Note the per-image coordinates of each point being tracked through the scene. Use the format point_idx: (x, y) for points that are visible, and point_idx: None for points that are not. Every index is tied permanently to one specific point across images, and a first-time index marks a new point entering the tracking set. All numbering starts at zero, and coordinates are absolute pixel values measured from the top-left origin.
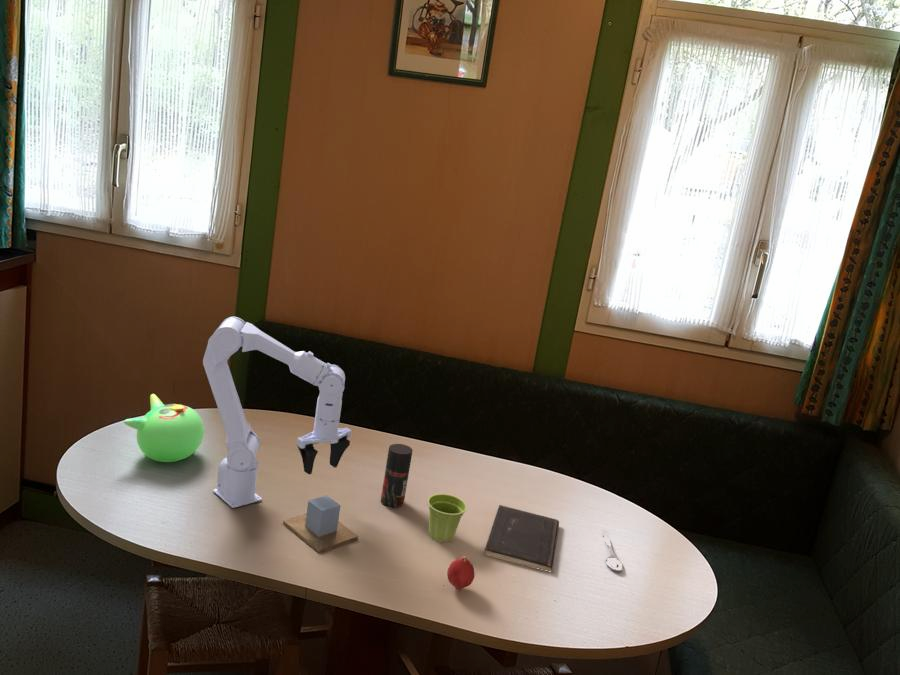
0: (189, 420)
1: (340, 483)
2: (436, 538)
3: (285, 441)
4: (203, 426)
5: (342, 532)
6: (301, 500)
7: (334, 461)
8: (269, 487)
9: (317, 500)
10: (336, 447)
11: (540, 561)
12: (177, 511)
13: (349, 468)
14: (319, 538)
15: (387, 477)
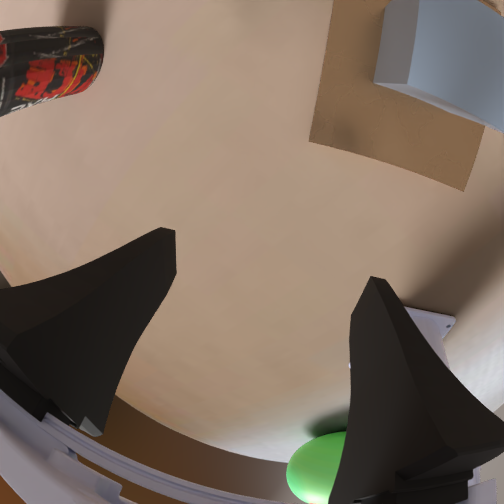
0: None
1: (131, 223)
2: None
3: (152, 378)
4: (302, 473)
5: None
6: (303, 234)
7: (156, 264)
8: (313, 327)
9: (483, 97)
10: (93, 349)
11: None
12: (493, 355)
13: (82, 256)
14: None
15: (22, 66)
